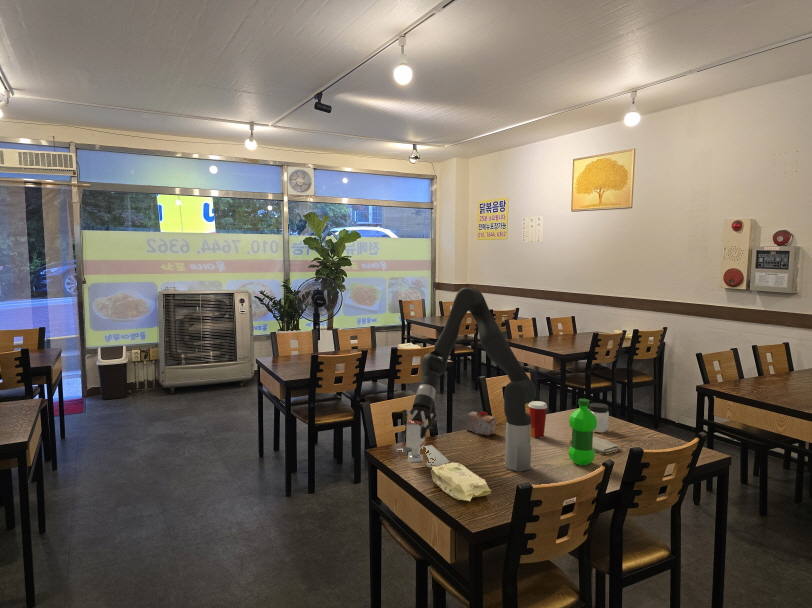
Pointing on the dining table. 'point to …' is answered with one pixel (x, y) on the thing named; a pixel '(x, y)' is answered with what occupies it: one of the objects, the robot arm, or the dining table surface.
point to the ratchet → (413, 455)
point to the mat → (433, 456)
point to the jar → (600, 416)
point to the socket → (414, 434)
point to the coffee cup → (537, 418)
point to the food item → (481, 423)
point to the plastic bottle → (582, 433)
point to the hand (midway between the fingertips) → (414, 436)
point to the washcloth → (603, 445)
